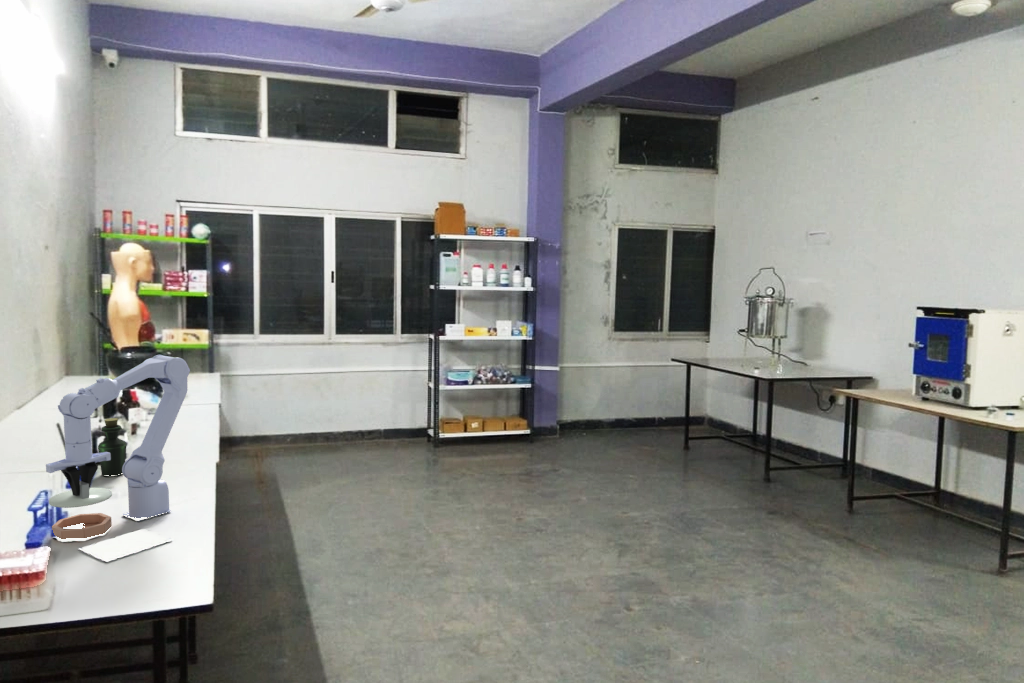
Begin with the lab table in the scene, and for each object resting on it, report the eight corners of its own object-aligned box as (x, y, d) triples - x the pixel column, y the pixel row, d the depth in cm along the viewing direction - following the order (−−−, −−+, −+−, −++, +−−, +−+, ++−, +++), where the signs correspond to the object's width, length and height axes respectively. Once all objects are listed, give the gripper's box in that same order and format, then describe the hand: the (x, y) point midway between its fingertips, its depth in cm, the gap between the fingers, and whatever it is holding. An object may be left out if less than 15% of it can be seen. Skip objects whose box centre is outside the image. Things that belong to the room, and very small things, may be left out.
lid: (94, 486, 189) (94, 471, 188) (122, 496, 182) (122, 481, 181) (38, 500, 178) (37, 484, 177) (65, 511, 170) (64, 494, 170)
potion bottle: (101, 479, 224) (99, 423, 223) (96, 473, 231) (94, 418, 229) (130, 475, 230) (128, 420, 228) (124, 469, 236) (122, 415, 234)
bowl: (94, 521, 189) (94, 510, 188) (119, 531, 182) (118, 519, 182) (45, 535, 179) (44, 523, 178) (69, 546, 172) (68, 534, 172)
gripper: (99, 433, 186) (102, 483, 188) (38, 444, 174) (41, 498, 176) (114, 437, 182) (116, 488, 184) (52, 449, 170) (55, 504, 172)
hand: (80, 493), depth 179 cm, fingers closed on lid, 2 cm apart
